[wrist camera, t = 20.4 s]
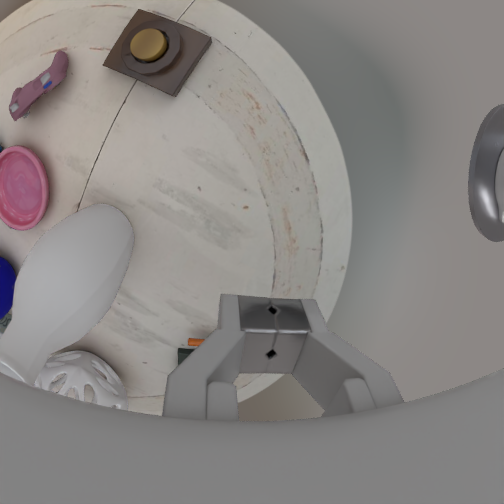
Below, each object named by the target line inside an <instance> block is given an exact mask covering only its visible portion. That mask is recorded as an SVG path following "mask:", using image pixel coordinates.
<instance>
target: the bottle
mask: <svg viewBox="0 0 504 504" xmlns="http://www.w3.org/2000/svg"><path fill="white" fill-rule="evenodd" d="M133 244H134V234H133V229H132V226H131V224H130V222H129V220H128V219H127V218H126V216H125V215H124V214H123V213H122V212H121V211H120V210H118V209H116V208H115V207H113V206H111V205H107V204H93V205H91V206H89V207H87V208H84V209H82V210H80V211H78V212H76V213H74V214H72V215H70V216H68V217H66V218H65V219H63V220H62V221H61V222H59V223H58V224H56V225H55V226H54V227H52V228H51V229H50V230H48V231H47V232H46V233H44V234H43V235H42V236H41V237H40V238H39V240H38V241H37V243H36V244H35V245H34V247H33V248H32V250H31V251H30V253H29V254H28V255H27V257H26V258H25V260H24V262H23V264H22V267H21V269H20V271H19V274H18V276H17V279H16V282H15V288H14V296H13V307H12V320H11V322H10V323H9V325H8V327H7V328H6V330H5V332H4V333H3V335H2V337H1V339H0V372H1V373H3V374H5V375H7V376H10V377H12V378H15V379H17V380H20V381H22V382H25V383H28V384H30V385H34V383H35V381H36V379H37V378H38V376H39V374H40V372H41V370H42V368H43V367H44V365H45V363H46V361H47V360H48V358H49V356H50V354H52V353H54V352H56V351H58V350H60V349H63V348H65V347H67V346H69V345H71V344H73V343H76V342H77V341H78V340H80V339H81V338H82V337H83V336H85V335H86V334H87V333H88V332H89V331H90V330H91V329H92V328H93V327H95V326H96V325H97V324H98V323H99V322H100V320H101V319H102V318H103V317H104V315H105V314H106V313H107V311H108V310H109V309H110V307H111V305H112V303H113V301H114V299H115V297H116V295H117V292H118V290H119V288H120V285H121V283H122V280H123V278H124V276H125V273H126V271H127V268H128V264H129V261H130V257H131V253H132V250H133Z"/></svg>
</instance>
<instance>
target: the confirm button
mask: <svg viewBox="0 0 504 504" xmlns="http://www.w3.org/2000/svg"><path fill="white" fill-rule="evenodd" d="M166 48H167V40H166V38H165V36H164V35H163V34H162V33H161V32H160V31H159V30H157V29H153V28H149V29H145V30H142V31H140V32H139V33H137V34H136V35H135V36H134V38H133V39H132V41H131V45H130V49H131V52H132V54H133V55H134V56H135V57H137V58H138V59H140V60H142V61H153V60H156V59H158V58H159V57H161V56H162V55H163V54H164V52H165V50H166Z"/></svg>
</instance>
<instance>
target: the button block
mask: <svg viewBox="0 0 504 504" xmlns="http://www.w3.org/2000/svg"><path fill="white" fill-rule="evenodd" d="M149 28H153V29H157V30H159V31H160V32H161V33H162V34H163V35H164V36H165V38H166V40H167V48H166V50H165V52H164V54H163V55H162V56H161V57H159V58H158V59H156V60H153V61H142V60H140V59H138V58H137V57H135V56H134V55H133V54H132V52H131V49H130V45H131V41H132V39H133V38H134V36H135V35H136V34H137V33H139V32H140V31H142V30H145V29H149ZM211 43H212V39H211V37H209V36H207V35H205V34H202V33H200V32H198V31H196V30H193V29H191V28H189V27H186V26H184V25H182V24H179V23H177V22H174V21H171V20H169V19H166V18H164V17H161V16H158V15H155V14H152V13H149V12H146V11H143V10H140V9H138V11H137V12H136V13H135V15H134V16H133V17H132V19H131V20H130V22H129V23H128V25H127V26H126V28H125V29H124V31H123V32H122V34H121V35H120V37H119V38H118V40H117V42H116V43H115V45H114V46H113V48H112V50H111V51H110V53H109V55H108V57H107V58H106V60H105V62H104V64H103V66H106V67H108V68H111V69H113V70H116V71H118V72H120V73H123V74H125V75H128V76H130V77H132V78H135V79H137V80H139V81H141V82H144V83H146V84H148V85H150V86H152V87H155V88H157V89H159V90H161V91H163V92H165V93H167V94H169V95H171V96H175V97H176V96H177V94H178V93H179V91H180V89H181V88H182V86H183V85H184V83H185V81H186V80H187V78H188V77H189V75H190V74H191V72H192V71H193V69H194V68H195V66H196V65H197V63H198V62H199V60H200V59H201V57H202V56H203V54H204V53H205V52H206V50H207V49H208V47H209V46H210V45H211Z"/></svg>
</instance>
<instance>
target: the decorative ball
mask: <svg viewBox="0 0 504 504" xmlns="http://www.w3.org/2000/svg"><path fill="white" fill-rule="evenodd" d="M94 368H96V369H98V370H99V371H101V372H103V373H104V374H105V376H106V377H107V378H106V379H104V378H103V377H102V376H101V375H100V374H99V373H98V372H97V371H96V370H95V369H94ZM62 373H65V374H64V375H63V376H62V377H61V378H60V379H58V380H56V381H54V382H52V381H53V379H54V378H55V377H56V376H58V375H59V374H62ZM63 383H65V384H64V385H63V387H62V389H61V390H59V391H58V392H56V393H57V394H60V395H63V396H67V394H68V391H69V390H70V389H71V388H73V389H74V392H75V396H76V399H77V400H81V401H85V399H84V389H85V385H90V386H91V387H92V388H93V389H94V397H93V400H92V402H91V403H93V404H96V403H97V405H102V406H106V407H112V408H116V409H121V410H126V411H128V399H127V394H126V391H125V388H124V386H123V384H122V382H121V380H120V378H119V377H118V375H117V374H116V373H115V371H114V370H113V369H112V368H111V367H110V366H109V365H108V364H107V363H106V362H104V361H103V360H102V359H101V358H99V357H98V356H96V355H94V354H92V353H89V352H86V351H69V352H64V353H61V354H58V355H55V356H52V357H50V358H49V359H48V360H47V361H46V363H45V365H44V367H43V368H42V370H41V372H40V374H39V376H38V378H37V379H36V387H39V388H42V389H44V390H47V391H50V390H52V389H53V388H54V387H56V386H58V385H60V384H63ZM112 392H113V393H114V394H115V395H116V396H115V395H113V394H112ZM116 405H117V406H116Z"/></svg>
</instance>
